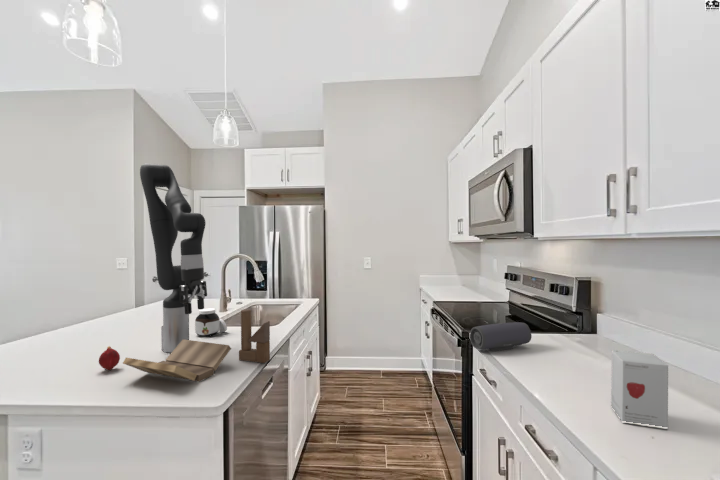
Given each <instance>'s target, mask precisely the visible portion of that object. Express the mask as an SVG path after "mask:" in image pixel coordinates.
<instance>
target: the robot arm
mask: <svg viewBox="0 0 720 480" xmlns="http://www.w3.org/2000/svg"><path fill="white" fill-rule="evenodd" d="M139 176H140V177H139V178H140V181H141V186H142V189H143V193H144V197H145V200H146V205H147V211H148V216H149V224H150V230H151V235H152V241H153V246H154V253H155V254H154V255H155V264H156V278H157V282H158V285H159V287H160V289H162V290H163V291H170V290H171V291H172V292H171V294H170V295H169V296H167V297H165V298H164V299H163V301H162V325H161V327H160V328H161V351H163V352H164V353H169V354H171V353H172V352H173V350H174V349H175V348H176V347H177V346H178V344H179V343H180V342H181V341H182V340H183V339H184V340H190V314H192V312H193V311H192V310H193V309H192V300H193V298H195V297H196V299H197V300H196V301H197V302H196V303H197V309H198V310H201V309H205V298H206V297H208V289H207V287H208V286H207V281H206V280H204V279H205V271H204V257H203V248H202V244H203V243H202V242H203V237H204V232H205V229H206V218H205V216H203V214H201V213H199V212H198V213H197V212H192V207H191V205H190V204H189V202H188V201H187V199H186V197H185V196H184V195H183V193H182V190H181V188H180V185H179V183H178V180H177V179H176V176H175V173H174V172H173V169H172V168H171V167H170V166H169V165H166V164H162V163H161V164H158V163H143V164H142V165H140V169H139ZM156 188H166V189H167V191H166V193H165V196H164V201H163V200H162V199H161V197H160V196H159V194H158V192H157V189H156ZM179 232H180V233H192V234H191V236H190V237H188V238H184V239H182V240H181V241H180V245H179V246H180V265H174V264H173V259H172V252H173V248H174V246H175V243H176V241H177V237H178V235H179V234H178V233H179Z"/></svg>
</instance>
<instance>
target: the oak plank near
mask: <svg viewBox="0 0 720 480" xmlns="http://www.w3.org/2000/svg"><path fill="white" fill-rule="evenodd" d="M122 364H123V365H126V366H129V367H131V368H135V369H137V370H139V371H142V372H144V373H148V372H149V374H153V373H154V375H159V374H160V375H161V376H164V375H165V376H166V377H170V376H171V378H176V377H177V379H181V378H182V380H187V379H188V380H187V381H192V380H193V381H194V380H195V378H196V376H197V374H194V373H192V372H190V371H187V370H185V369H183V368H181V367H178V366H175V365H169V364H163V363H158V362H156V361H150V360H143V359H137V358H131V357H125V359H124V360H123V362H122ZM194 382H195V381H194Z"/></svg>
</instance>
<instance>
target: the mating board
mask: <svg viewBox="0 0 720 480" xmlns="http://www.w3.org/2000/svg"><path fill="white" fill-rule="evenodd" d="M157 363H163V364H169V365H175V366H178V367H181V368H183V369H185V370H187V371H190V372H192V373H194V374H197V376H196V378H195V380H194V382H201V381H204V380H206V379H208V378H210V377H212V376H214V372H215V371H214V369H213V368H206V367H200V366H194V365H188V364H181V363H175V362H169V361H166V360H162V361H159V362H157ZM147 373H149V372H147ZM149 374H150V373H149ZM152 374H154V373H152ZM154 375H155V374H154ZM158 375H160V374H158ZM163 376H165V375H163ZM169 377H171V376H169ZM171 378H172V377H171ZM175 378H177V377H175ZM177 379H178V378H177ZM181 379H182V378H180V380H181ZM182 380H183V379H182ZM186 380H187V381H189V380H188V379H186ZM192 381H193V380H191V382H192Z"/></svg>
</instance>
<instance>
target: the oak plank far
mask: <svg viewBox="0 0 720 480" xmlns="http://www.w3.org/2000/svg"><path fill="white" fill-rule="evenodd" d="M231 350H232V348H231V346H230V345H229V344H222V343H217V342H216V343H215V342H207V341H206V342H205V341H199V340H192V339H189V340H184V339H183V340H182V341H181V342H180V343H179V344H178V346H177V347H176V348H175V349H174V350H173V352H170V353H169V355H168V356H167V357H166V358H165V361H169V362H175V363H181V364H188V365H194V366H200V367H206V368H213V369H214V372H216V370H218V368H219V367H220V366H221V364H222V362H223V361H224V359H225V358H226V356H227V355H228V354H229V352H230V351H231Z"/></svg>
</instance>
